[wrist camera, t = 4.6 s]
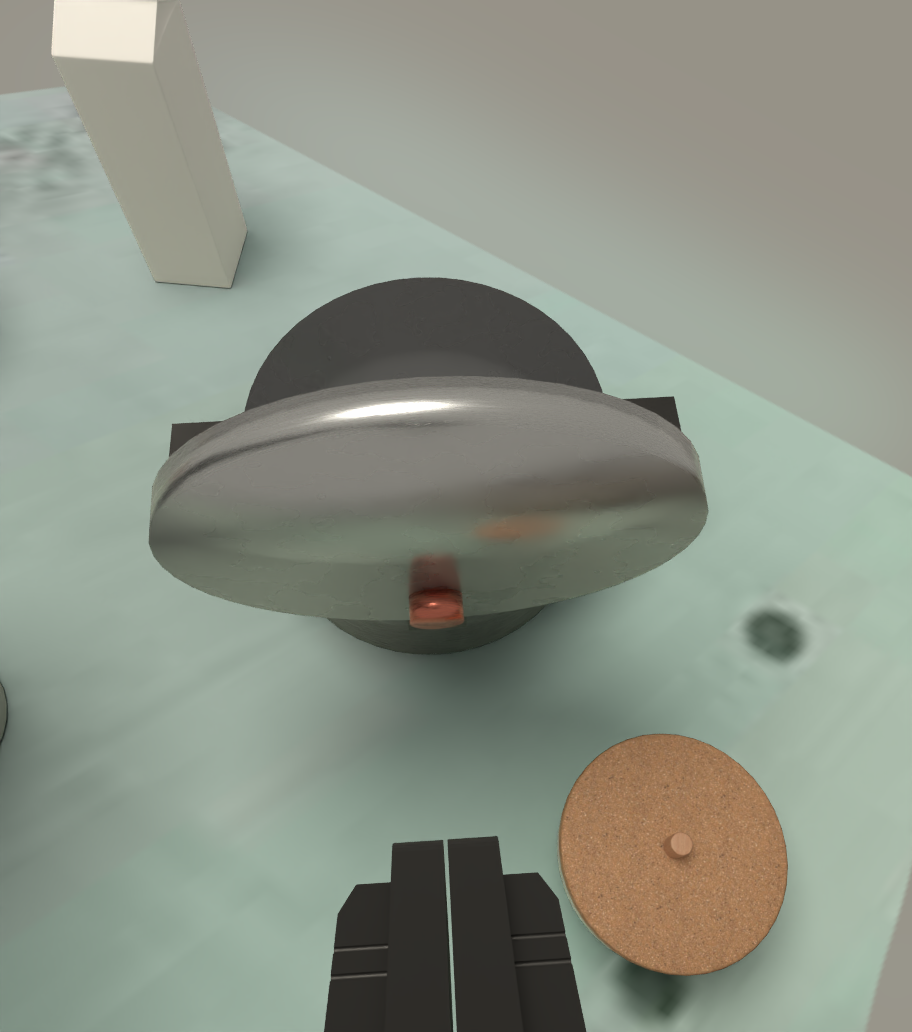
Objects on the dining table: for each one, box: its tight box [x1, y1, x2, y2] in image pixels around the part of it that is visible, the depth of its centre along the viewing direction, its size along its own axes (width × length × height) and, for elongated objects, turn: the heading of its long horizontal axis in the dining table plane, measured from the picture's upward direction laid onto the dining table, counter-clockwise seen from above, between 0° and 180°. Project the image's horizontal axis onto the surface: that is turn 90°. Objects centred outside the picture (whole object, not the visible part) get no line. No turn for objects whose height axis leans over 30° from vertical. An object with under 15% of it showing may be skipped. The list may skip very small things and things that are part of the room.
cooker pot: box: [169, 278, 681, 654], centre depth 52 cm, size 21×28×11 cm
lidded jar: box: [557, 734, 788, 976], centre depth 43 cm, size 11×11×9 cm
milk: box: [52, 0, 247, 288], centre depth 57 cm, size 6×6×22 cm
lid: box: [149, 376, 708, 629], centre depth 33 cm, size 20×20×3 cm
